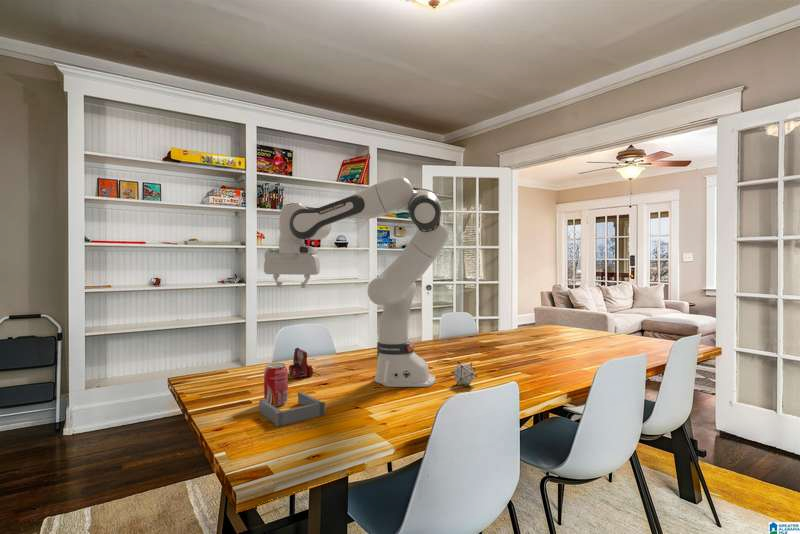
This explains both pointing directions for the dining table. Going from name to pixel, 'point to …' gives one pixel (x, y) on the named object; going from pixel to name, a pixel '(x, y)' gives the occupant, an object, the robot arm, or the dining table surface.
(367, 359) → the dining table surface
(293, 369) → the toy fire truck
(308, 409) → the corral
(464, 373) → the game die
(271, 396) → the soda can
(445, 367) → the dining table surface
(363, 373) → the dining table surface
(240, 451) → the dining table surface
